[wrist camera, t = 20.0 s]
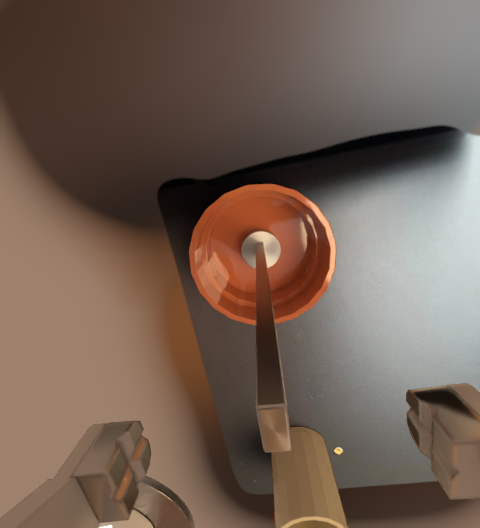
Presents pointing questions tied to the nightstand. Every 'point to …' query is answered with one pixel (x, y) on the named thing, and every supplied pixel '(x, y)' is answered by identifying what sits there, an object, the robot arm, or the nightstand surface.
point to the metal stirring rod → (267, 345)
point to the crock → (306, 484)
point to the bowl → (280, 274)
